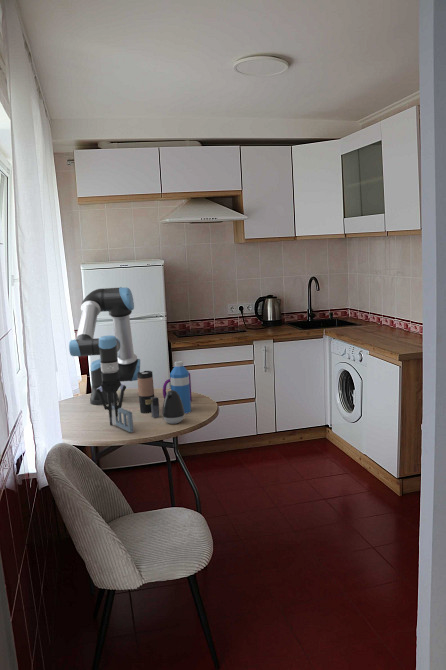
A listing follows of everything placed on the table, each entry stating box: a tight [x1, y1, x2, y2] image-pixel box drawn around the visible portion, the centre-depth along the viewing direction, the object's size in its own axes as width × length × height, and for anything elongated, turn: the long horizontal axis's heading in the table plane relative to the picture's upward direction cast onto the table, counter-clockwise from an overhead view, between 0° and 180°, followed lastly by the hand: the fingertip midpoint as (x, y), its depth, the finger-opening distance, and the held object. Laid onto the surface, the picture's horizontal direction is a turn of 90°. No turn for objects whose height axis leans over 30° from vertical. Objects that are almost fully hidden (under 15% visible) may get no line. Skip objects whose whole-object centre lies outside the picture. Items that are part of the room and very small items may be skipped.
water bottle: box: [169, 360, 192, 415], centre depth 278 cm, size 9×9×25 cm
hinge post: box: [108, 403, 114, 426], centre depth 263 cm, size 3×3×10 cm
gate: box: [112, 406, 134, 433], centre depth 254 cm, size 2×17×9 cm, turn 36°
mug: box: [162, 372, 193, 402], centre depth 297 cm, size 9×16×15 cm, turn 118°
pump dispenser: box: [162, 389, 185, 425], centre depth 261 cm, size 10×10×15 cm
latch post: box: [145, 396, 160, 419], centre depth 272 cm, size 4×5×10 cm, turn 116°
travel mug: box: [137, 370, 155, 414], centre depth 282 cm, size 8×8×20 cm
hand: (114, 424), depth 249 cm, fingers closed
